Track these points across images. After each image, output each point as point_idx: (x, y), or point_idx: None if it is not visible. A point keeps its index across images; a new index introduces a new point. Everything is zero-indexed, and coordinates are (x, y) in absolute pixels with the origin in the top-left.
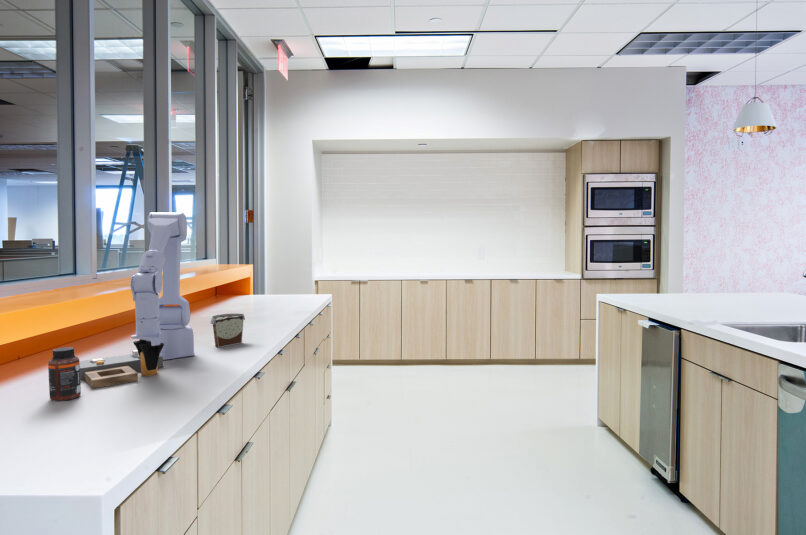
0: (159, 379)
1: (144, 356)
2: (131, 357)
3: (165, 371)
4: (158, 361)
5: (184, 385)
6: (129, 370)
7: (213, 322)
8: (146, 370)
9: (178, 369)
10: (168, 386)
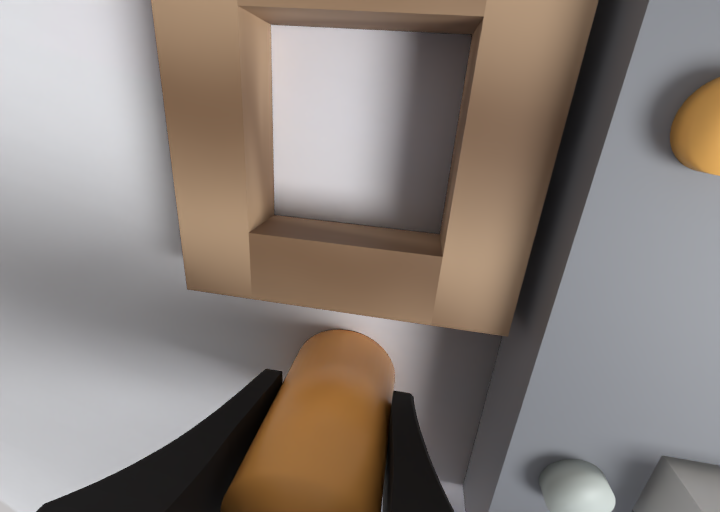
0: (178, 353)
1: (200, 445)
2: (684, 448)
3: None
4: (472, 508)
5: (3, 373)
6: (311, 279)
7: None
8: (292, 367)
9: None
10: (14, 322)
